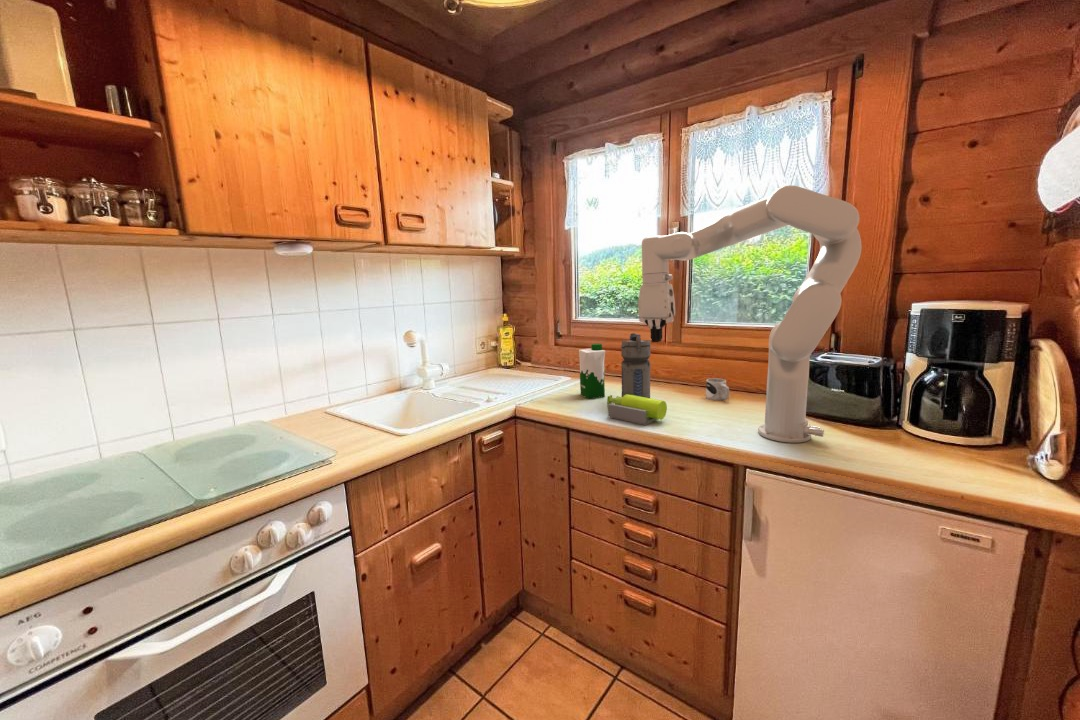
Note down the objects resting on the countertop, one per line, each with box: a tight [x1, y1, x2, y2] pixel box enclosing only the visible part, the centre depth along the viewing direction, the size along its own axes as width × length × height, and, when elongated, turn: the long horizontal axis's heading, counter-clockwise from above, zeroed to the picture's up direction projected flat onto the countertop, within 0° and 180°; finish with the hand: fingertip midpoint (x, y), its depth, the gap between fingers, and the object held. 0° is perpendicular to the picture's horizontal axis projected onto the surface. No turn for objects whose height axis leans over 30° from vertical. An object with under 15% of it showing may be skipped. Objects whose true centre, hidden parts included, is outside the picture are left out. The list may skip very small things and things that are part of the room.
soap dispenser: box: [606, 394, 668, 421], centre depth 137 cm, size 6×7×20 cm
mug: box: [705, 377, 730, 401], centre depth 153 cm, size 10×7×7 cm
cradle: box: [607, 403, 657, 426], centre depth 137 cm, size 13×11×4 cm
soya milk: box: [578, 343, 606, 400], centre depth 163 cm, size 9×9×20 cm
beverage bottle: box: [620, 332, 652, 398], centre depth 153 cm, size 10×13×25 cm
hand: (656, 341), depth 128 cm, fingers closed
